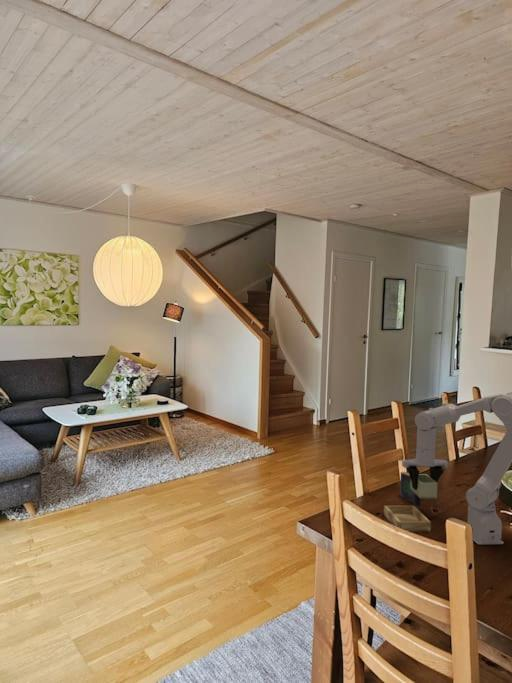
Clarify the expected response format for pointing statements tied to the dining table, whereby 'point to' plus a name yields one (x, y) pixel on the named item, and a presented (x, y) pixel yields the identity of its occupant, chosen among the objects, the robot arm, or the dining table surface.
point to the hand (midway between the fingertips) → (423, 488)
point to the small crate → (425, 487)
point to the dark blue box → (408, 489)
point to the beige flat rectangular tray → (407, 518)
